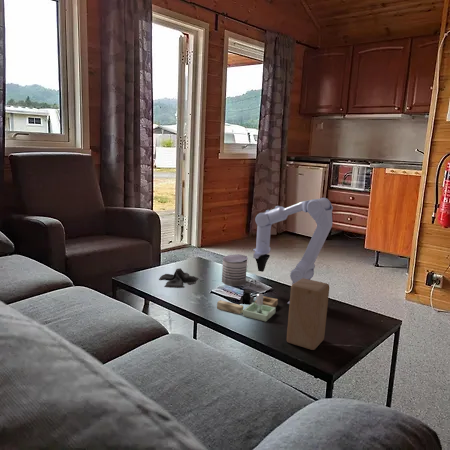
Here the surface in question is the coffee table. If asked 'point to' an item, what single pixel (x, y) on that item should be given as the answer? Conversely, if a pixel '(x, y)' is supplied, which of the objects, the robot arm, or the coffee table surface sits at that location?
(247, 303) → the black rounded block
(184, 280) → the cloth
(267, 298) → the pin socket
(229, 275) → the can
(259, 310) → the pin
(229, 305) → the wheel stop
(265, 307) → the tray
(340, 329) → the coffee table surface
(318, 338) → the wooden block
